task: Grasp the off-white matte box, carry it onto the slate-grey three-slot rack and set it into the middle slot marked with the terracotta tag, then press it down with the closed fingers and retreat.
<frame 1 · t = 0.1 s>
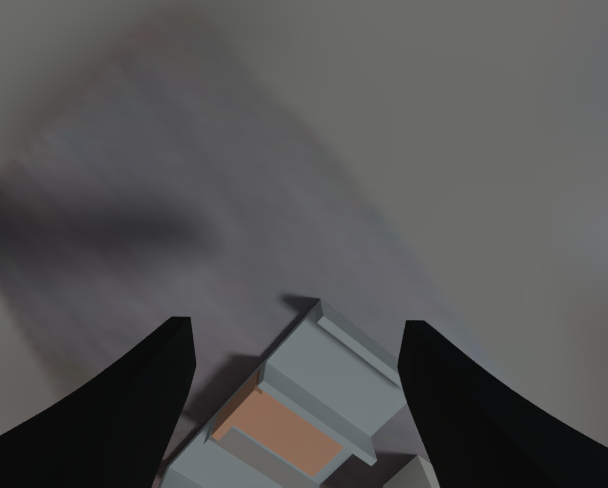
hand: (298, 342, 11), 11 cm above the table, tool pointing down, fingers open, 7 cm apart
rack: (291, 424, 24), on the table
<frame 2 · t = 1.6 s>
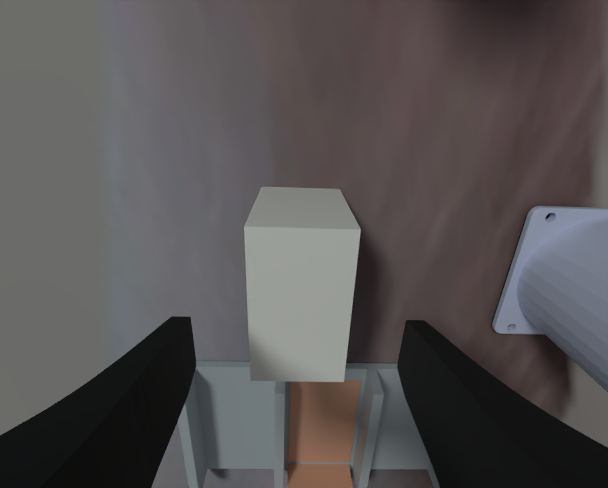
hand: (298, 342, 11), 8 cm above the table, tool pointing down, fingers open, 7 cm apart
off-white matte box: (298, 249, 18), on the table
rack: (321, 416, 23), on the table
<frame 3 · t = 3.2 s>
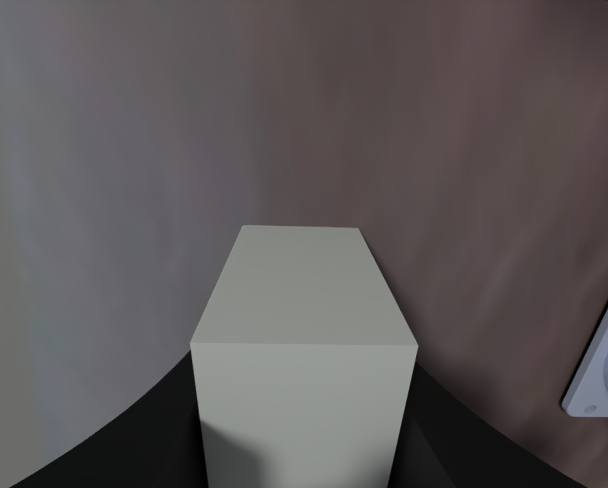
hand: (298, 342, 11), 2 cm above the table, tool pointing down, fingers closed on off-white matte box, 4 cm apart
off-white matte box: (298, 310, 12), on the table, touching gripper
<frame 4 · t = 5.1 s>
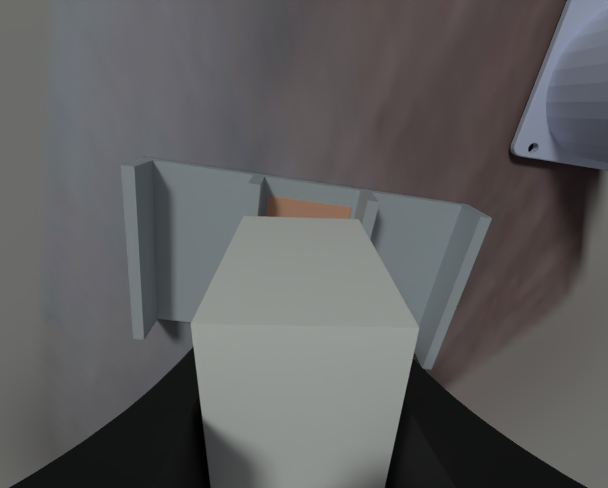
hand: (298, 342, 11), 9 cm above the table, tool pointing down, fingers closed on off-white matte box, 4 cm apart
off-white matte box: (298, 303, 12), point 7 cm above the table, touching gripper
rack: (299, 262, 20), on the table
when the fingers open (4 cm above the table, at t = 7.0 s): off-white matte box drops 2 cm, resting on rack.
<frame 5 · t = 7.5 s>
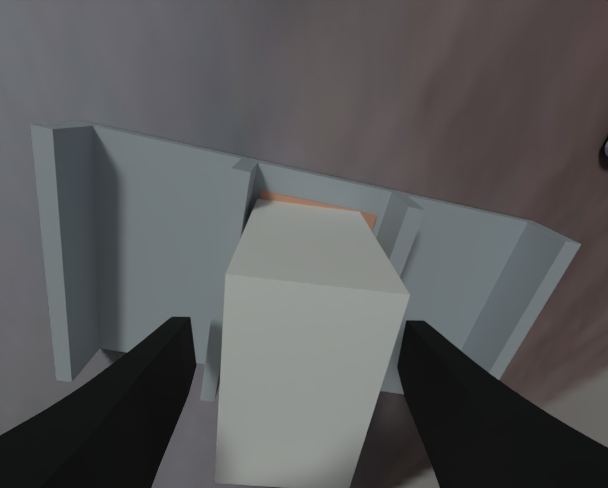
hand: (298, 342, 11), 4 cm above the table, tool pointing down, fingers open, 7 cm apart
off-white matte box: (297, 283, 14), point 1 cm above the table, touching rack
rack: (298, 283, 14), on the table
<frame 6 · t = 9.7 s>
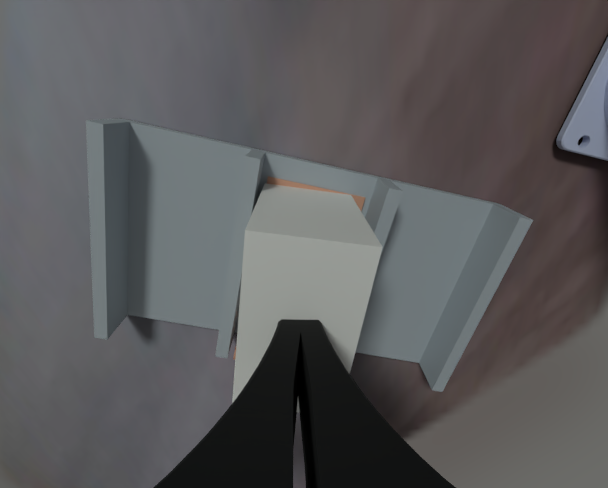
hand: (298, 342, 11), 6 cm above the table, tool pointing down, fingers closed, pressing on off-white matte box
off-white matte box: (298, 257, 16), point 1 cm above the table, touching gripper, rack
rack: (298, 258, 17), on the table
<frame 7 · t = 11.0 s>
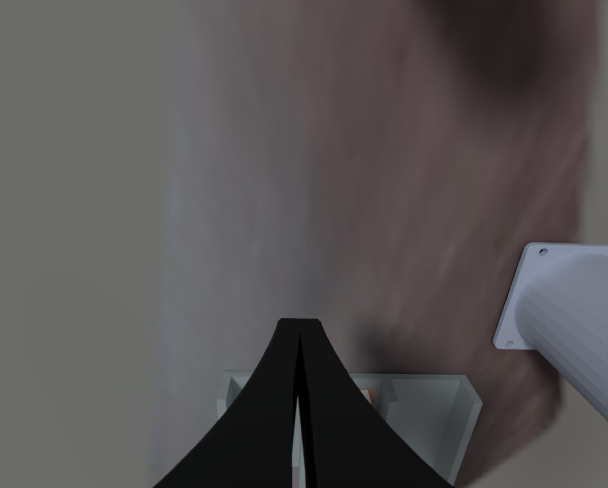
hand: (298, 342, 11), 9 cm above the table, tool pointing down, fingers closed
rack: (340, 420, 26), on the table
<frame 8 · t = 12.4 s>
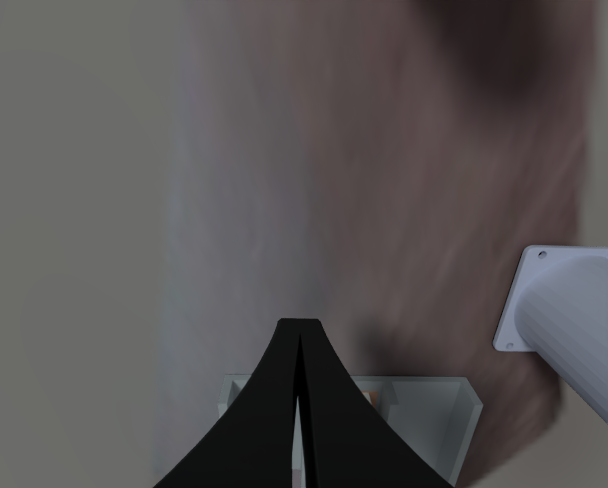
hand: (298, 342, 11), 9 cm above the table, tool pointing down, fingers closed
rack: (341, 422, 26), on the table
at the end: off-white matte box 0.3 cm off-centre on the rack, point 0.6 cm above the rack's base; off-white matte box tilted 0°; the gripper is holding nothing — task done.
